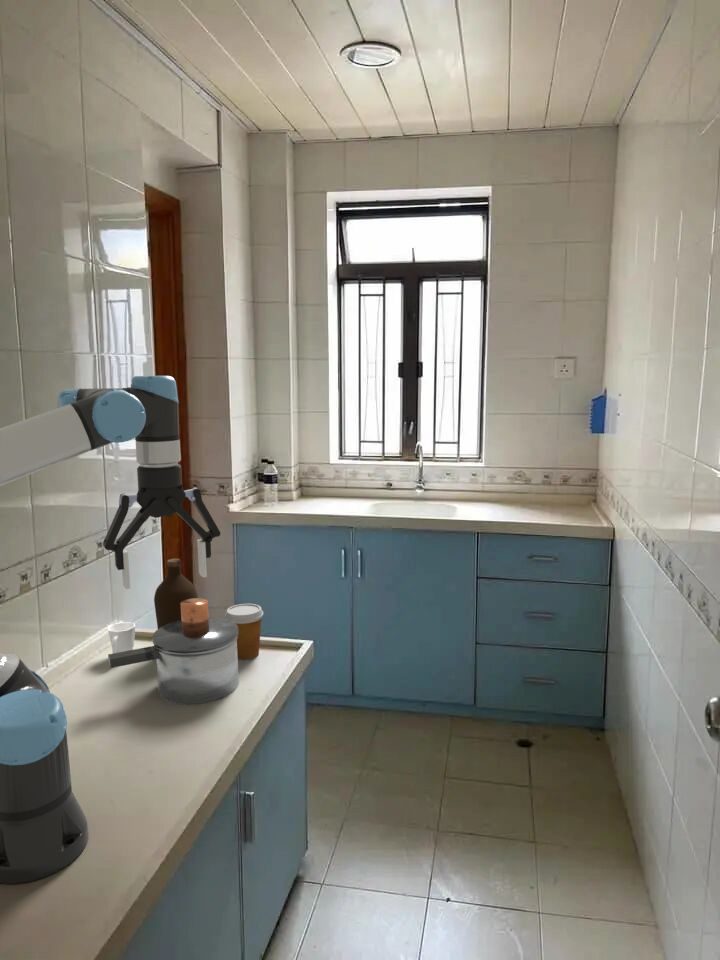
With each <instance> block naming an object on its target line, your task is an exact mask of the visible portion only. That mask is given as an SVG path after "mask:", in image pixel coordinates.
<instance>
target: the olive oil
mask: <svg viewBox="0 0 720 960" xmlns="http://www.w3.org/2000/svg"><path fill="white" fill-rule="evenodd" d="M166 564H167V565H166V570H167V575H166V576H165V578H164V579H163V580H162V581H161V582H160V584H159V585H157V588H156V590H155V592H154V597H153V601H154V602H153V603H154V610H155V611H154V612H155V618H156V626H157V630H158V629H159V628H161V627H163V626H165V625H167V624H169V623H172V622H176V621H180V620H182V619H181V602H182V601H184V600H187V599H192V598H199V597H198V591H197V589H196V587H195V585H194V584H193V583H192V582H191V581H190V580H189V579H188V578H186V577H185V576H184V575H183V574H182V566H181V559H180V558H170V559H168V560H166Z"/></svg>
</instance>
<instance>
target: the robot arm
mask: <svg viewBox="0 0 720 960" xmlns="http://www.w3.org/2000/svg"><path fill="white" fill-rule="evenodd" d="M178 396H179V395H178V388H177V382H176V380H175V378H174V377H173V376H170V375H136V376H133V377H132V379H131V384H130V386H128V387H121V388H114V387H113V388H109V387H108V388H101V387H100V388H99V387H98V388H74V389H64V390H61V391H60V392H59V393H58V395H57V399H56V401H57V402H56V403H57V404H56V405H57V406H56V407H57V408H55V409H52V410H48V411H46V412H43V413H40V414H38V415H35V416H32V417H29V418H27V419H23V420H20V421H18V422H14V423H12V424H9V425H6V426H4V427H0V487H2V486H4V485H8V484H10V483H12V482H14V481H16V480H19V479H22V478H25V477H27V476H29V475H31V474H35V473H37V472H39V471H42V470H45V469H47V468H49V467H52V466H55V465H57V464H60V463H62V462H65V461H68V460H70V459H73V458H75V457H77V456H81V455H83V454H86V453H88V452H91V451H94V450H98V449H99V448H100V449H101V448H103V447H105V446H107V445H110V444H112V443H124V442H125V443H126V442H129V441H132V440H134V439H135V440H134V441H135V456H136V457H135V458H136V463H137V464H139V466H137V468H136V473H137V475H136V476H137V493H136V494H126V493H120V495H119V501H118V503H119V504H118V507H117V510H116V512H115V514H114V517H113V520H111V521H112V522H111V523H110V526H109V529H108V530H107V533H106V535H105V537H104V540H103V543H102V546H103V547H104V549H105V551H106V550H107V551H112V552H114V562H115V564H114V565H115V567H116V569H117V570H118V571H121V572H122V573H121V574H122V585H123V587H124V588H125V590H128V589H131V580H130V578H131V577H130V564H129V551H127V549H126V547H127V546H128V544H129V543H130V542H131V541H132V539H133V538H134V536H135V535H136V534H137V532H138V531H139V530H140V529H141V527H142V526H143V525H144V523H145V522H146V521H148V520H149V518H150V517H151V518H154V519H156V518H158V519H159V518H161V517H172V516H173V515H175V514H177V515H178V516H179V517H180V518H181V520H183V521H184V522H185V523H186V524H187V525H188V526H189V527H190V528H191V529H192V530H193V531H194V532H195V533H196V534H197V535H198V536H199V537H200V539H197V540H196V541H197V561H198V562H197V563H198V574H199V575H200V576H201V577H202V578H208V572H207V571H208V570H207V559H208V558H209V559H210V558H211V557H212V545H211V542H212V541H213V539H214V538H216V537H217V538H218V537H220V536H221V531H220V529H219V528H218V526H217V524H216V521H215V520H214V519H213V516H212V515H211V514H210V512H209V510H208V508H207V507H206V505H205V503H204V502H203V498H202V497H203V496H202V492H201V490H200V489H199V488H197V487H195V486H194V487H191V489H186V490H184V489H183V475H182V465H181V464H179V463H180V461H182V453H181V441H180V440H181V439H180V425H179V422H180V417H179V415H180V414H179V403H180V401H179V397H178ZM186 498H188V500H189V501H190V502H192V503H193V505H194V506H195V508H196V511H197V512H198V513H199V515H200V516H201V519H202V521H203V522H204V524H205V525H206V527H207V529H208V530H207V531H206V530H205V529H204V528H203V527H202V526H201V525H200V524H199V523H198V522H197V521H196V520H195V519H194V518H193V517H192V516H191V515H190V514H189V513H188V512H187V511H186V510H185V509H184V507H182V504H183V502H184V500H185V499H186ZM134 503H137V504H138V505H139V506H140V509H139V510H138V512H137V513H136V515H135V516H134V518H133V519H132V521H131V522H130V523H129V525H128V526H127V527H126V529H125V530H124V531H123V532H122V533H121V535H120V536H119V538H117V537H118V535H119V533H120V530H121V528H122V526H123V523H124V521H125V519H126V516H127V515H128V513H129V509H130V508H131V507H133V505H134ZM116 539H117V540H116ZM115 541H116V542H115ZM67 725H68V719H67V715H66V712H65V710H64V705H63V702H62V701H61V699H60V698H59V697H58V695H57V696H56V695H55V694H54V693H52V692H50V688H49V686H48V685H47V683H46V681H45V680H44V679H43V677H41V675H39V674H38V673H36V672H35V671H34V670H32V669H30V668H28V666H27V665H26V664H25V662H24V661H23V660H22V659H21V658H20V657H19V656H18V655H17V654H14V653H7V654H6V653H2V652H1V651H0V883H1V884H7V885H8V884H11V885H12V884H23V883H28V882H33V881H37V880H39V879H43V878H45V877H48V876H51V875H52V874H54V873H57V872H59V871H60V870H62V869H64V868H65V867H66V866H68V865H69V864H71V863H72V862H74V861H75V860H76V859H77V858H78V857H79V856H80V855H81V854H82V852H83V851H84V849H86V847H87V844H88V841H89V827H88V821H87V817H86V815H85V814H84V812H83V810H82V808H81V805H80V804H79V801H78V799H77V798H76V795H75V794H74V792H73V789H72V788H73V787H72V778H71V767H70V766H71V765H70V758H69V757H70V755H69V746H68V737H67Z"/></svg>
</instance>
